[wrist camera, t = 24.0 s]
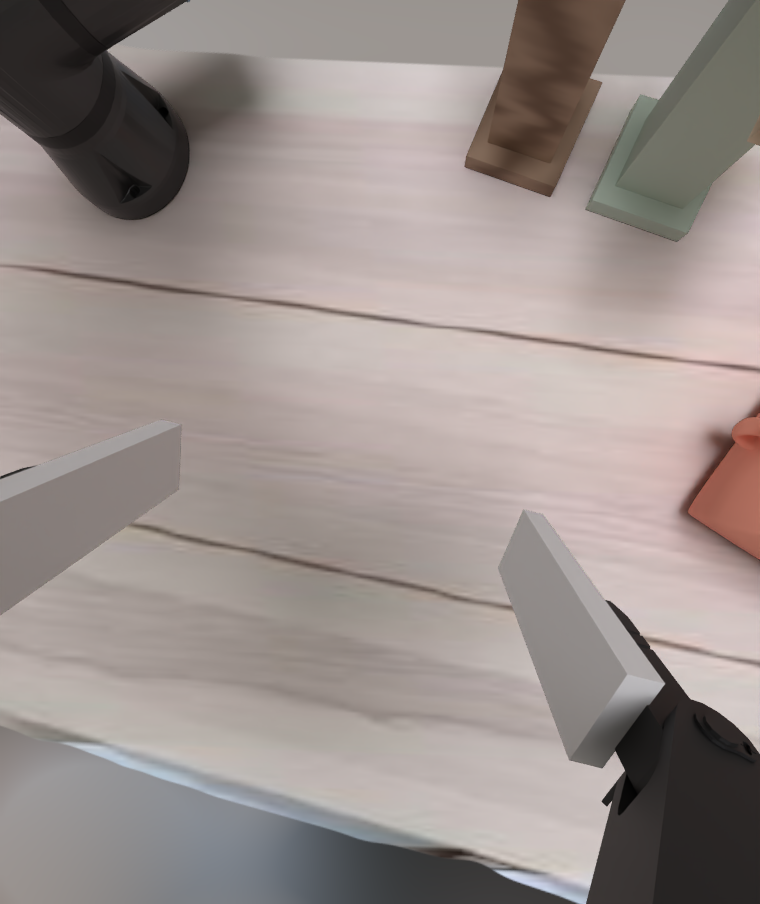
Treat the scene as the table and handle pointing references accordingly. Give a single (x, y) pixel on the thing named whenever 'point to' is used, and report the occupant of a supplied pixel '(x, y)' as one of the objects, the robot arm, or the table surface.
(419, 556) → the table surface
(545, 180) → the tall pedestal
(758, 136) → the mallet
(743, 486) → the teapot
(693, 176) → the short pedestal
